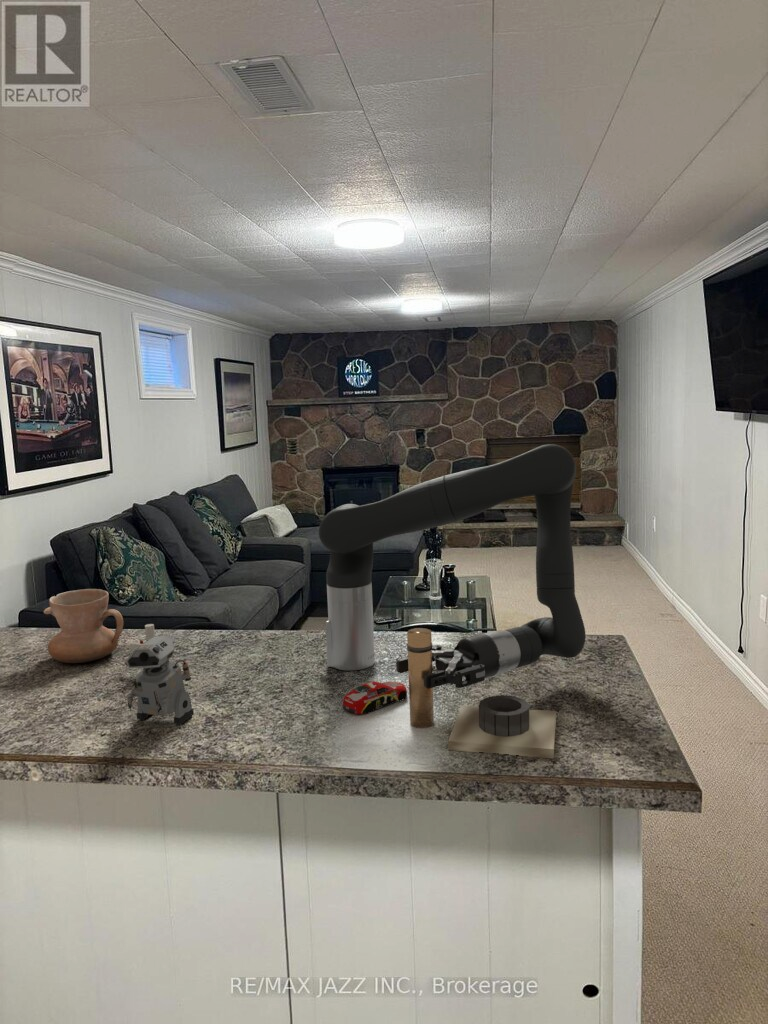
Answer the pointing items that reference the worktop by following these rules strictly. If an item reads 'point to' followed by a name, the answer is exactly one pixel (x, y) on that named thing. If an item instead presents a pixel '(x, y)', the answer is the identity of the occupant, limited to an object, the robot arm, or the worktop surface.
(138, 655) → the figurine
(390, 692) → the race car
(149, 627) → the pipe connector
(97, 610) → the ceramic jug
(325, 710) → the worktop surface
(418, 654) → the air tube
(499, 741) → the collar plate
